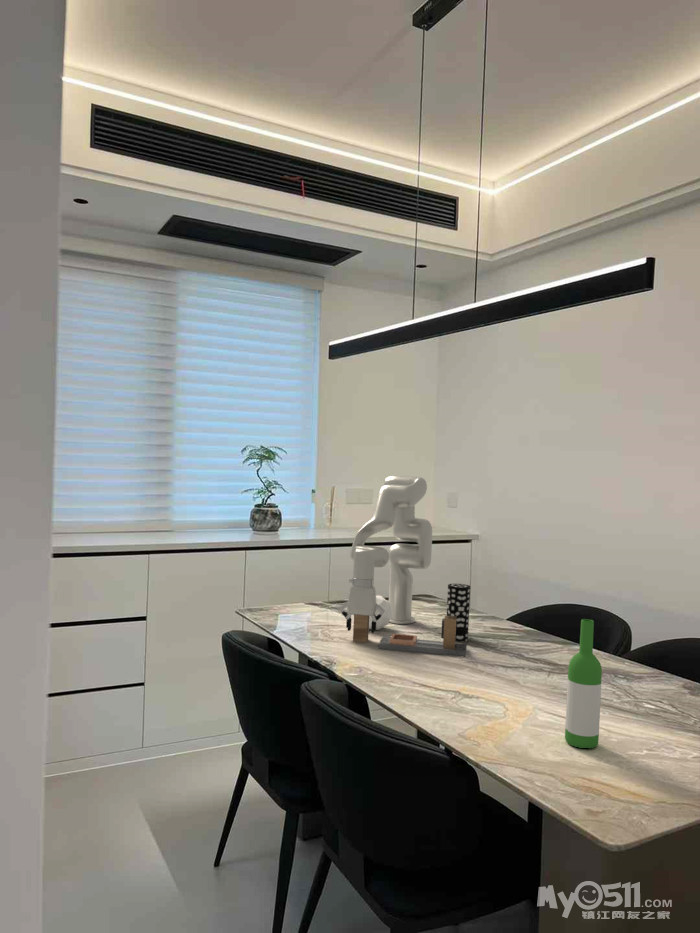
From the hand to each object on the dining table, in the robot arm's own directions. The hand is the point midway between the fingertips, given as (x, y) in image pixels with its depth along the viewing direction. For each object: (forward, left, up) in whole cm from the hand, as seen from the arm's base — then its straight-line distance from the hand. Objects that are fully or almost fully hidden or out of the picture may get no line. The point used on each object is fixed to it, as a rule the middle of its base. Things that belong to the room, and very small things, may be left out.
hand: (361, 630), depth 259 cm
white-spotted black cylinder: (-15, +34, -4) cm, 37 cm away
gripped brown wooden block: (0, 0, -3) cm, 3 cm away
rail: (+4, +23, -3) cm, 24 cm away
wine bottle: (+76, +67, -4) cm, 101 cm away
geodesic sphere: (-19, +2, -4) cm, 19 cm away
